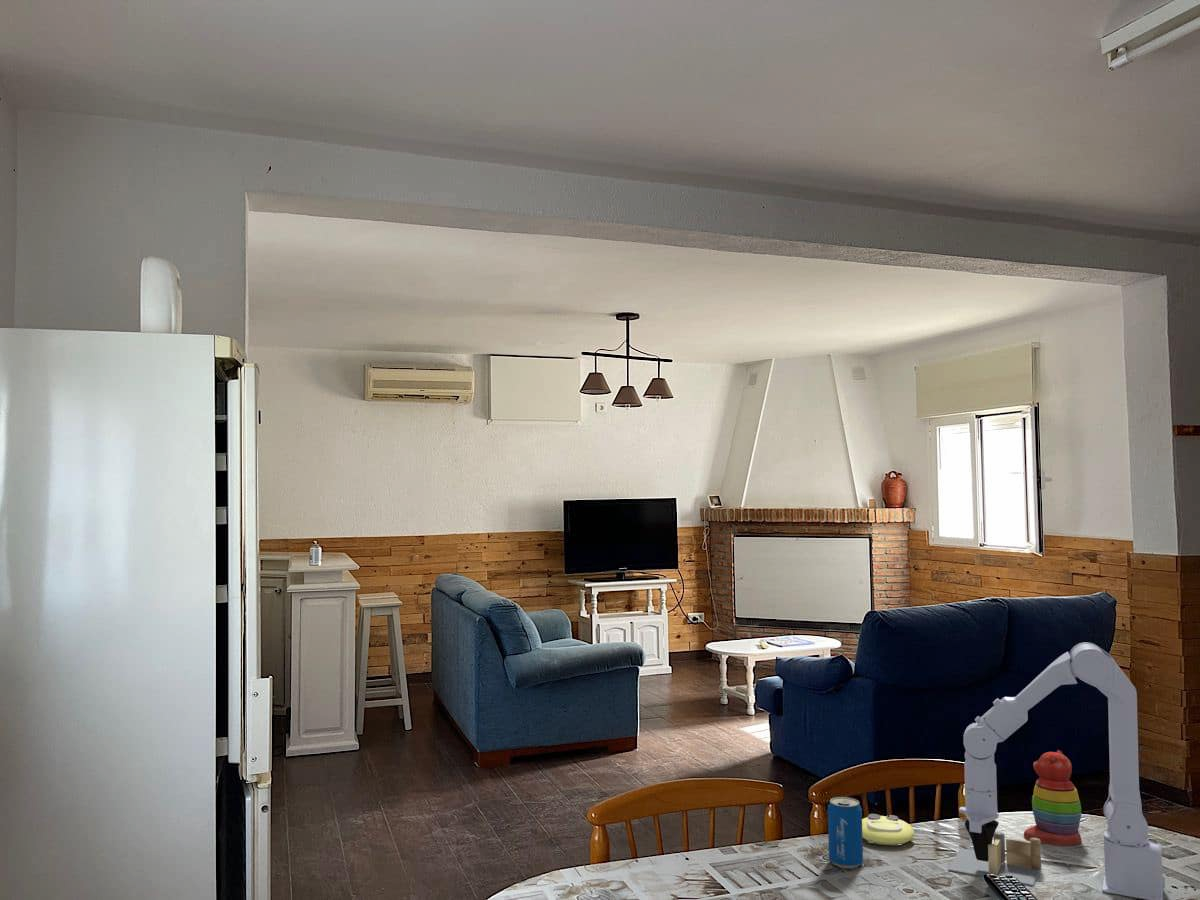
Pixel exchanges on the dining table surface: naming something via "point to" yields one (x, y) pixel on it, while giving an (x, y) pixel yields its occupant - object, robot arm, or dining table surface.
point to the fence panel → (996, 852)
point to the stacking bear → (1055, 802)
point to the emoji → (886, 830)
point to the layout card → (971, 866)
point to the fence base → (1024, 853)
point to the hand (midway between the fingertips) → (982, 860)
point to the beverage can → (845, 832)
